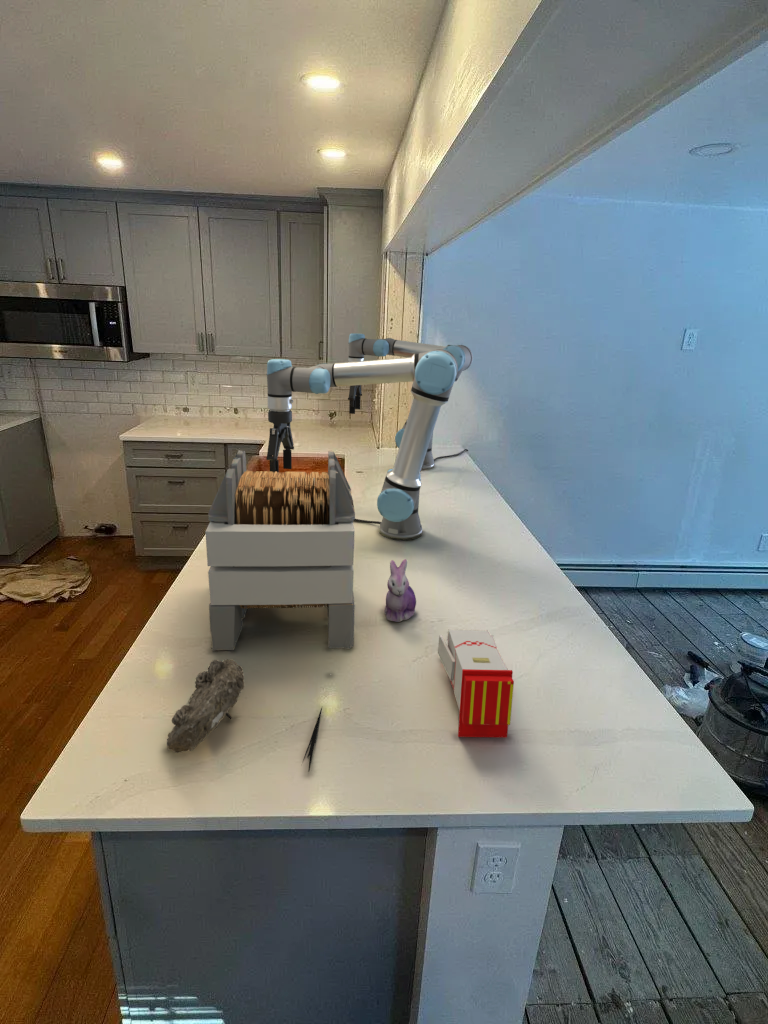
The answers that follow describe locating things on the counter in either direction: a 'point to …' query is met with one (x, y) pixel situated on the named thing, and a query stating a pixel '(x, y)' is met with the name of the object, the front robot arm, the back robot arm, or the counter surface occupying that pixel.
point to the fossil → (206, 705)
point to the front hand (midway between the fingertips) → (281, 474)
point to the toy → (478, 682)
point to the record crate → (281, 548)
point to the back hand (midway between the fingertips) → (354, 411)
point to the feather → (313, 740)
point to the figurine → (399, 594)
